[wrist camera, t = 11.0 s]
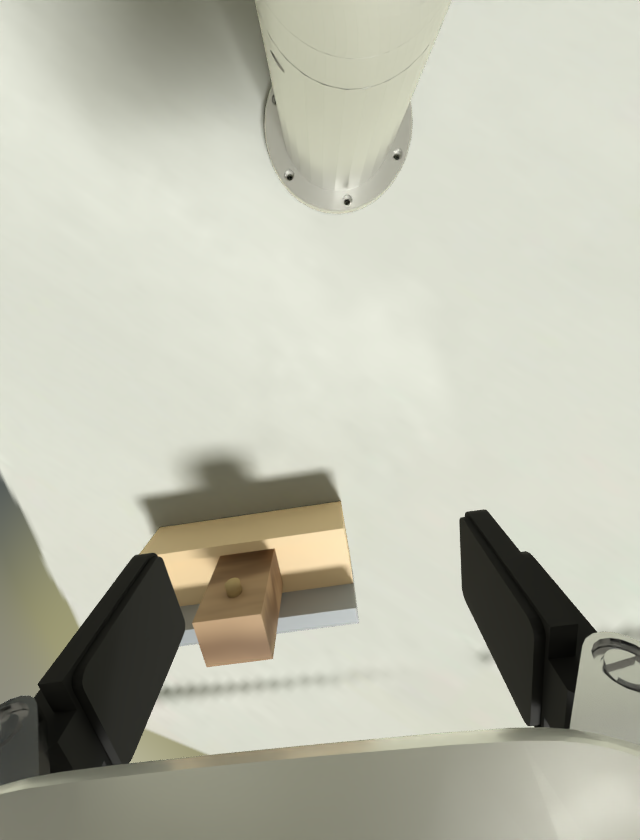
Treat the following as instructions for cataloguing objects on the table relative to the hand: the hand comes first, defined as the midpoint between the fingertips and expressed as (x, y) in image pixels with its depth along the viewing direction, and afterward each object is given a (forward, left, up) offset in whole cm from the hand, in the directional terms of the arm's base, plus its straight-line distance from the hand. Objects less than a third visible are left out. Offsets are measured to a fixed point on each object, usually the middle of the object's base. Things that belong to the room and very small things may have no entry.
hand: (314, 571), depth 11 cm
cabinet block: (+18, -10, -24) cm, 32 cm away
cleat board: (+19, -11, -28) cm, 35 cm away
